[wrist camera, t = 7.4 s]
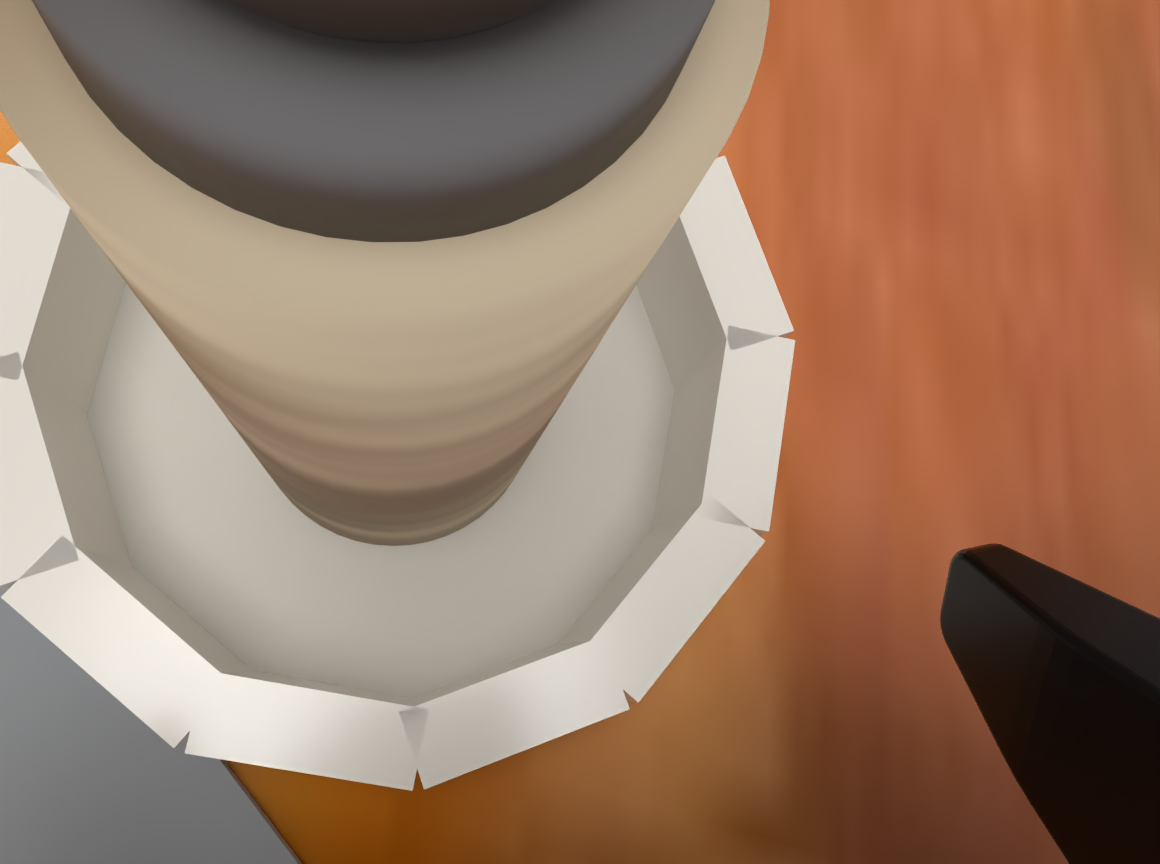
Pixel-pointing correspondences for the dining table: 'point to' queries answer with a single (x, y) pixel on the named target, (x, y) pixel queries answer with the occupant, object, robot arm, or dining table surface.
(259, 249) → the pepper mill
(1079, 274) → the dining table surface
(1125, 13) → the dining table surface
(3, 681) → the felt mat
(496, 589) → the bowl
